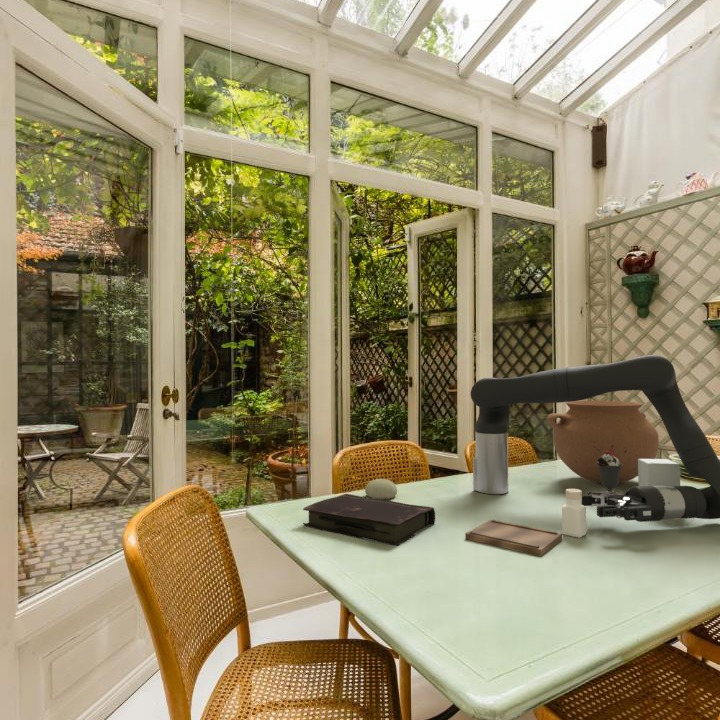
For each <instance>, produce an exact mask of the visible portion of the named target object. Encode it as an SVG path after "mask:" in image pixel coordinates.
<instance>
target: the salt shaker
mask: <svg viewBox="0 0 720 720" xmlns="http://www.w3.org/2000/svg"><path fill="white" fill-rule="evenodd" d="M582 495H583V491H582V490H581V489H578V488H566V489H565V500H566V503H564V504H563V505H562V506H561V522H562V523H561V525H562V527H561V529H562V530H561V531H562V535H566V536H569V537H573V538H577V537H578V539H579V538H582V537H584V536H585V535H586V534H587V506H584V505H582V503H581V500H582Z"/></svg>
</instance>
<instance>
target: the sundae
mask: <svg viewBox="0 0 720 720" xmlns="http://www.w3.org/2000/svg"><path fill="white" fill-rule="evenodd" d="M613 446H614V445H611V448H612V449H613ZM610 450H611V449H610ZM610 450H609V451H610ZM609 451H606V453H605V454H603V455H602V457H600V458H598V459H597V461H598V462H597V463H596V464H597V465H598V466H599V471H600V478H601V482H602V485H603V486H604V487H605V488H606V489H607V490H606V491H607V492H608V491H611V492H613V490H614V489H615V488H616V487H617V486H618V485H619V483H618V481H619V474H620V468H621V467H622V466H623V464H622V463H619V460H618V459H617V458H616V457H615V456H616V455H615V454H614V451H613V453H610V452H609Z"/></svg>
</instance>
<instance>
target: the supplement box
mask: <svg viewBox="0 0 720 720" xmlns="http://www.w3.org/2000/svg"><path fill="white" fill-rule="evenodd" d="M680 465H681V464H680V463H678V462H675V461H672V460H671V459H668V458H664V459H663V458H655V459H638V476H637V478H638V480H637V481H638V484H637V485H638V486H658V485H662V486H681V466H680Z"/></svg>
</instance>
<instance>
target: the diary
mask: <svg viewBox="0 0 720 720" xmlns="http://www.w3.org/2000/svg"><path fill="white" fill-rule="evenodd" d="M302 510H303V511H305V512H306V511H307V512H308V522H307V523H305V522H303V523H302V525H304V527H307V528H311V529H315V530H320V531H324V532H329V533H333V534H338V535H346V536H348V537H353V538H357V539H361V540H362V539H366V540H372V541H374V542H378V543H381V544H386V545H388V546H389V545H390V546H395V547H399V546H400V545H402V544H403V543H405V542H407V541H408V540H410V539H412V538H414V537H416V534H415V533H417V532H419V531H421V530H422V529H424V528H425V527H428V528H429V527H430V528H431V526H429V525H433V526H434V525H435V523H436V512H435V507H433V506H426V505H425V506H424V505H417V504H416V505H415V504H407V503H403V502H399V501H393V500H390V499H373V498H371V497H366V496H359V495H355V494H351V493H343V494H340V495H338V496H335V497H330V498H326V499H323V500H320V501H316V502H314V503H312V504H310V505H307V506H304V507H303V508H302Z"/></svg>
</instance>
